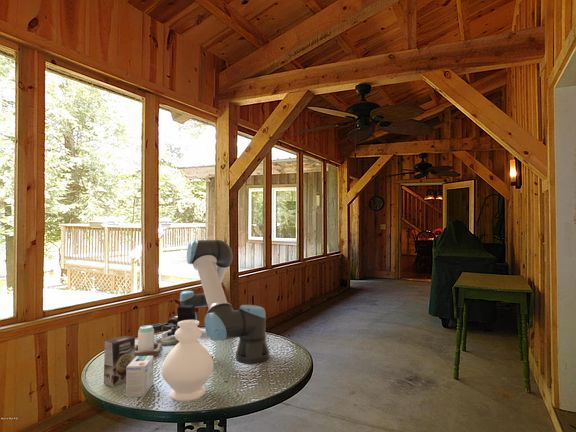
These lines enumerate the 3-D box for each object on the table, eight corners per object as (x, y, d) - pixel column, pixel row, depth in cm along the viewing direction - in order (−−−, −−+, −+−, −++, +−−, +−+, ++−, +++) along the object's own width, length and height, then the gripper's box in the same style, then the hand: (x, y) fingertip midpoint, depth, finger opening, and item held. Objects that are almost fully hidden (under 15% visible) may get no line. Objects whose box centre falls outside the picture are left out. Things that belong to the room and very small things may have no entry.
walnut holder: (158, 355, 169) (158, 351, 169) (129, 357, 167) (129, 353, 167) (161, 347, 181) (161, 343, 181) (134, 348, 179) (134, 344, 179)
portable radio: (197, 353, 173) (197, 299, 174) (192, 357, 167) (193, 302, 168) (181, 352, 174) (181, 299, 174) (176, 357, 168) (176, 301, 168)
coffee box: (113, 387, 136) (113, 343, 136) (103, 383, 139) (103, 340, 140) (135, 378, 144) (135, 337, 144) (125, 375, 147) (125, 334, 148)
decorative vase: (167, 383, 140) (168, 316, 140) (215, 381, 142) (215, 315, 142) (155, 406, 122) (156, 330, 123) (210, 403, 124) (211, 328, 125)
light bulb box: (135, 384, 139) (135, 355, 139) (153, 383, 140) (153, 354, 140) (125, 397, 128) (125, 366, 129) (145, 396, 129) (145, 365, 129)
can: (135, 355, 170) (136, 328, 170) (140, 350, 177) (140, 324, 177) (151, 354, 171) (152, 328, 171) (155, 349, 178) (155, 324, 178)
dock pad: (180, 344, 185) (180, 342, 185) (154, 346, 182) (154, 344, 182) (181, 337, 197) (181, 335, 197) (157, 339, 194) (157, 337, 194)
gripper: (196, 333, 194) (172, 345, 174) (156, 329, 202) (129, 340, 182) (197, 318, 195) (172, 329, 174) (156, 315, 202) (129, 325, 182)
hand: (150, 335), depth 178 cm, fingers open, 13 cm apart
